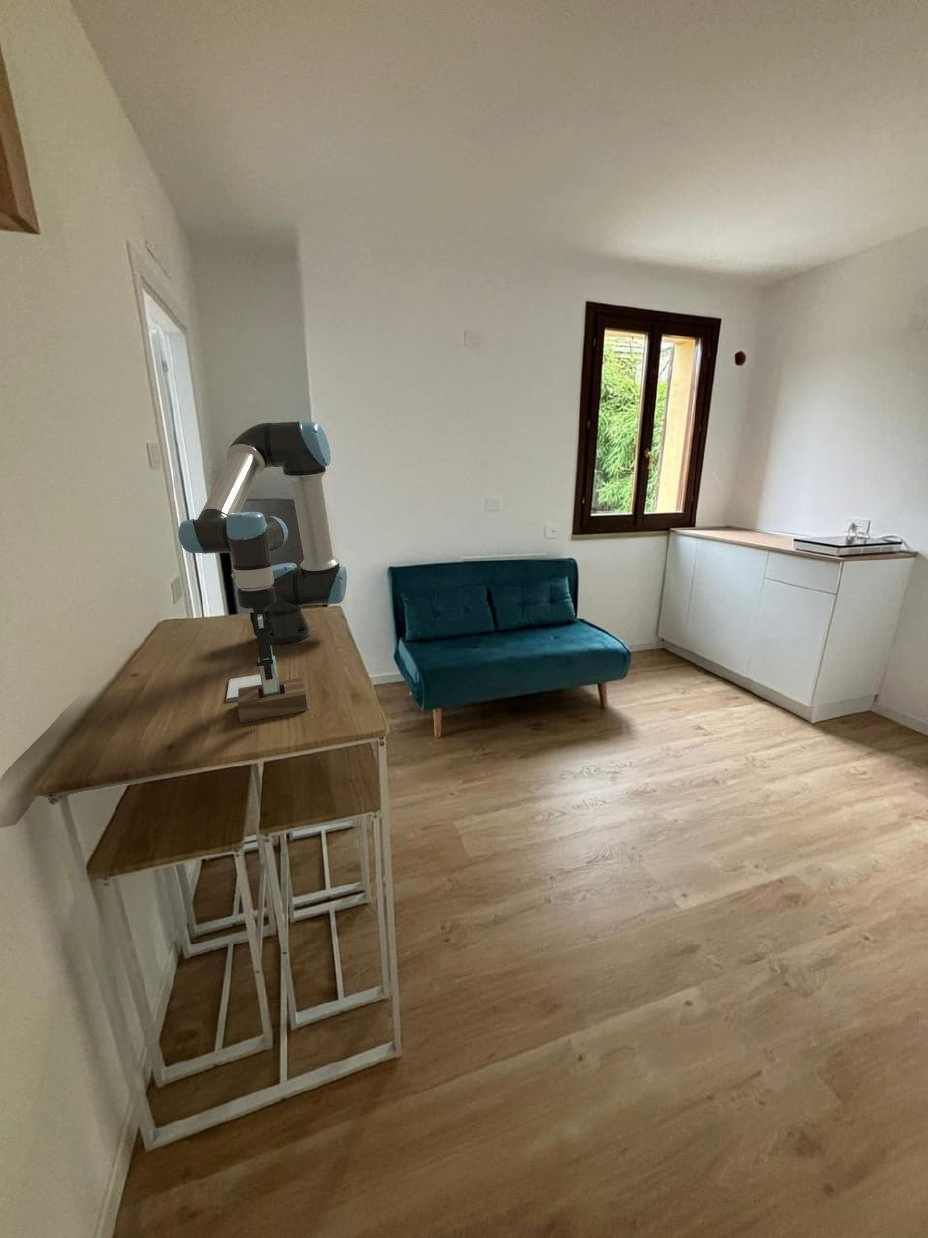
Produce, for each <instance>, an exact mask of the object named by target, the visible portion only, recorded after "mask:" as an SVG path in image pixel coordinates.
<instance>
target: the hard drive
mask: <svg viewBox="0 0 928 1238" xmlns="http://www.w3.org/2000/svg"><path fill="white" fill-rule="evenodd" d="M260 684H262V683H261V677H260V674H254V675H253V674H252V675H246V676H242V677H236V678H235V677H234V678H231V679H229V680H228V687H227V693H226V697H225V698H226V699H225V702H226V703H232V702H233V703H234V702H238V688H243V687H249V686H255V685H260Z"/></svg>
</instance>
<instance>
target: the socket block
mask: <svg viewBox="0 0 928 1238" xmlns="http://www.w3.org/2000/svg"><path fill="white" fill-rule="evenodd" d="M278 681H279V688H280V695H274V696H269V697H264V696H263V690H262V684H260V685H255V686H249V687H243V688H238V701H237V709H238V710H237V711H238V717H239V721H240V724H244V723H248V722H255V721H259V720H262V719H269V718H273V717H279V716H285V715H289V714H295V713H300V712H306V711H308V701H307V693H306V691H305V690H306V689H305V686H304V683H303V678H302V677H297V678H290V679H285V680H278Z"/></svg>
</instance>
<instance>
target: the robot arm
mask: <svg viewBox="0 0 928 1238" xmlns="http://www.w3.org/2000/svg"><path fill="white" fill-rule="evenodd" d="M330 463H331V449H330V445H329V441H328V438H327V436H326V433H325V430H324V429H323V428H322V426H321V425H320V424H319V423H318V422H315V421H303V420H302V421H282V422H262V423H261V422H260V423H258V424H255V425H253V426H251V427H249V428H247V429H245V430H244V431H243V432H242V433H241V434H240V435H238V436H237V437H236V438H235V439H234V440H233V441H232V443H231V445H230V446H229V447H228V450H227V452H226V463H225V465H224V467H223V469H222V471H221V473H220V475H219V477H218V478H217V481H216V482H215V485H214V487H213V489H212V491H211V493H210V494H209V496H208V498H207V500H206V502H205V505H204V506H203V508H202V509H201V512H200V513H199V515H198V517H197V518H196V519H194V518H191V519H186V520H183V521H182V522H181V523H180V524H179V527H178V540H179V542H180V544H181V546H182V548H183V549H184V551H186V552H187V553H191V554H205V555H206V554H227V553H230V555H231V561H232V569H233V572H232V573H231V575H230V576H231V579H233V578H235V584H236V587H237V588H238V589H237V591H236V594H237V600H238V604H239V607H241V608H242V609H252V610H253V611H252V612H250V613H249V616H250V617H249V618H250V619H249V620H250V622H251V625H252V630H253V635H254V636H256V643H257V651H258V658H260V662H259V663H258V662H256V667H258V668H259V666H260V668H261V674H262V681H263V687H264V694H266V693H271V692H277V691H278V689H277V682H276V675H275V669H274V662H273V660H272V655H273V656H274V654H273V648H272V647H273V645H281V644H282V645H283V644H290V643H294V642H298V641H301V640H305V639H306V638H308V637H309V636H310V635H311V628H310V625H309V623H308V621H307V618H306V617H305V615H304V613H303V609H302V606H315V605H316V606H318V605H321V606H322V605H327V606H330V605H336V604H338V605H339V604H340V603H342V602H343V600H344V598H345V595H346V590H347V583H348V581H347V580H348V578H347V577H348V576H347V575H348V574H347V569H346V566H345V567H344V566H342V565H341V566H340V560H339V559H338V558H337V557H335V556H334V554H333V547H332V540H331V533H330V527H329V520H328V519H329V518H328V513H327V507H326V499H325V494H324V492H325V491H324V485H323V481H322V478H323V476H324V475H325V474H326V472H327V469H326V467H327V466H329V465H330ZM267 468H282V472H283V475H284V476H285V477H286V478H287V479H288V480H289V481H290V484H291V492H292V497H293V502H294V507H295V513H296V520H297V526H298V530H299V537H300V543H301V549H302V554H303V560H302V561H301V562H300V567H298V566H297V564H296V563H295V562H286V563H280V564H275V565H273V564H272V560H271V559H272V558H271V552H273V551H276V550H279V549H280V548H281V547H282V546H283V545H284V544H285V543H286V542H287V540H288V538H289V537H288V536H289V530H288V527H287V525H286V523H285V522H284V521H283V520H282V519H280V518H279V517H277V516H274V515H273V516H272V515H267V516H265V515H264V514H263V513H262V512H258V511H246V512H242V509H243V507H244V505H245V502H246V500H247V498H248V496H249V494H250V492H251V489H252V487H253V485H254V482H255V480H256V477H257V476H259V475H261V474H262V473H263V472H264V470H265V469H267ZM263 659H266V660H263Z"/></svg>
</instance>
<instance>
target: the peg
mask: <svg viewBox="0 0 928 1238" xmlns="http://www.w3.org/2000/svg"><path fill="white" fill-rule="evenodd" d="M263 660H266V659H263ZM272 660H273V662H274V669H275V675H276V682H277V689H278V691H277V692H271V693H266V694H264V687H263V681H262V674H261V668H260V666H258V669H259V675H260V677H261V683H262V690H263V696H264V697H269V696H274V695H280V688H279V681H280V680H279V676H278V667H277V661H276V656H275V655H274V654H273V655H272ZM259 662H260V658H259V657H258V658H257V663H259Z"/></svg>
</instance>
